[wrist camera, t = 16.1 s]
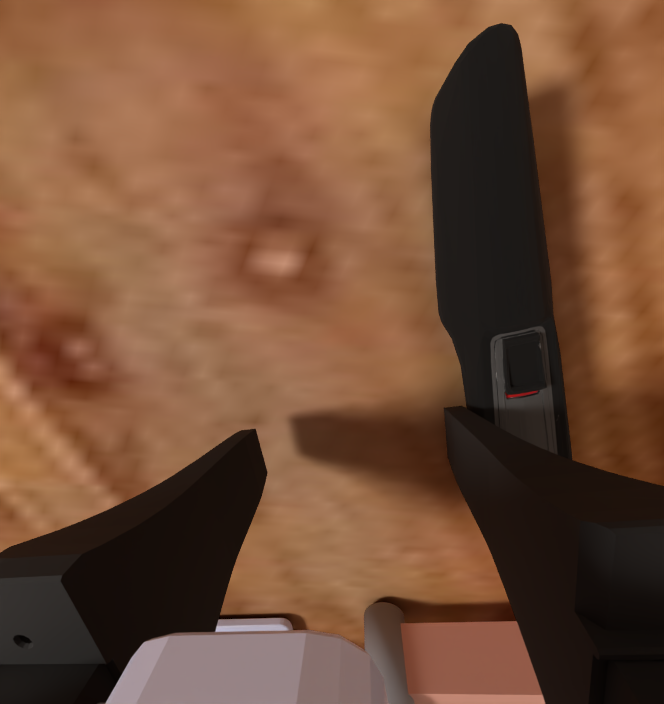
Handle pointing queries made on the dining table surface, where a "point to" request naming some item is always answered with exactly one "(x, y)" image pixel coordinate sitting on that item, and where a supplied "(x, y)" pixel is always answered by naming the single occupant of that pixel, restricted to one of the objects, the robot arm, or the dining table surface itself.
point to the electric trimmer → (496, 244)
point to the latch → (449, 660)
